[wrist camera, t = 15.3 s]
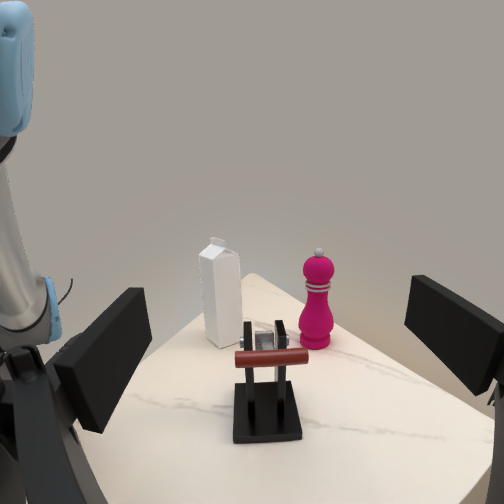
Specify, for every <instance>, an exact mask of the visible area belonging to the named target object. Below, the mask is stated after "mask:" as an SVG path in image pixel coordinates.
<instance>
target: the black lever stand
mask: <svg viewBox="0 0 504 504" xmlns="http://www.w3.org/2000/svg"><path fill="white" fill-rule="evenodd" d="M287 345H289V336H288V334H286V332H285V328H284V324H283V321H282V320H275V349H287ZM240 348H244V351H253V347H252V325H251V321H250V322H244V325H243V337H240ZM245 375H246V383H235V397H234V423H233V441H234V443H264V442H279V441H291V440H300V439H302V428H301V424H300V419H299V415H298V411H297V406H296V402H295V397H294V393H293V388H292V384H291V381H286V366H275V382H260V383H254V372H253V368H245Z"/></svg>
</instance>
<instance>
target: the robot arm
mask: <svg viewBox="0 0 504 504" xmlns="http://www.w3.org/2000/svg"><path fill="white" fill-rule="evenodd" d="M33 77H34V23H33V17H32V13H31V11H30V9H29V7H28V6H27V5H26V4H25V3H23V2H20V1H7V2H0V504H26V498H27V502H28V504H108V502H107V501H106V499H105V497H104V495H103V493H102V491H101V489H100V487H99V485H98V483H97V481H96V479H95V477H94V474H93V472H92V470H91V468H90V465H89V463H88V461H87V458H86V456H85V453H84V451H83V448H82V446H81V443H80V441H79V438H78V435H77V432H76V430H75V428H74V427H73V425H72V424H73V423H74V421H75V420H76V418H78V420H79V422H80V424H81V426H82V428H83V429H84V430H88V431H92V432H96V433H100V434H102V433H103V431H104V429H105V427H106V425H107V423H108V421H109V419H110V417H111V415H112V413H113V411H114V409H115V407H116V405H117V404H118V402H119V400H120V398H121V396H122V394H123V392H124V390H125V388H126V386H127V385H128V383H129V381H130V379H131V377H132V375H133V373H134V371H135V370H136V368H137V366H138V364H139V362H140V360H141V359H142V357H143V355H144V353H145V351H146V350H147V348H148V346H149V344H150V342H151V341H152V335H151V329H150V324H149V319H148V313H147V308H146V301H145V295H144V288H128V289H127V290H126V291H125V292H124V293H123V294H121V295H120V296H119V298H117V299H116V300H115V301H114V302H113V303H112V304H111V305H110V306H109V307H108V308H107V309H106V310H105V311H104V312H103V313H102V314H101V315H100V316H99V317H98V318H97V319H96V320H95V321H94V322H93V323H92V324H91V325H90V326H89V327H88V328H87V329H86V330H85V331H84V332H83V333H79V334H78V335H76V336H74V337H72V338H71V339H70V340H69V341H68V342H67V343H66V344H65V345H64V346H63V347H62V348H61V349H60V350H59V352H57V353H56V354H55V355H54V356H53V357H52V358H51V359H50V360H49V361H48V362H47V363H46V364H45V365H44V364H43V361H42V358H41V356H40V353H39V350H38V348H37V347H36V345H40V344H49V343H50V342H52V341H56V340H58V339H59V338H60V337H61V335H62V328H61V322H60V317H59V310H58V305H59V304H60V303H61V302H62V301H63V300H64V299H65V297H66V296H67V295H68V293H69V292H70V290H71V288H72V283H73V282H72V281H73V279H71V285H70V288H69V290H68V292H67V293H66V295H65V296H64V297H63V298H62V299H61V300H60V301H59V302H58V303H57V299H56V293H55V288H54V283H53V281H52V279H51V278H50V277H44V276H43V277H41V275H40V274H39V273H38V272H37V271H36V270H35V269H33V268H32V267H30V266H29V263H28V260H27V256H26V253H25V250H24V246H23V243H22V239H21V236H20V232H19V228H18V225H17V221H16V216H15V212H14V208H13V202H12V197H11V193H10V187H9V181H8V175H7V168H6V160H7V159H8V158H9V156H10V155H11V153H12V152H13V150H14V148H15V145H16V142H17V134H18V133H19V132H22V131H23V130H24V129H25V128H26V127H27V125H28V123H29V119H30V115H31V108H32V97H33V87H32V85H33V84H32V82H33ZM404 325H405V326H406V327H407V328H408V329H409V330H411V331H412V332H413V333H414V334H415V335H416V336H417V337H418V338H419V339H420V340H421V341H422V342H423V343H424V344H425V345H426V346H427V347H428V348H429V349H430V350H431V351H432V352H433V353H434V354H435V355H436V356H437V357H438V358H439V359H440V360H441V361H442V362H443V363H444V364H445V365H446V366H447V367H448V368H449V369H450V370H451V371H452V372H453V373H454V374H455V375H456V376H457V377H458V378H459V380H461V382H462V383H463V384H464V385H465V386H466V387H467V388H468V389H469V390H470V391H471V392H472V393H473V394H474V395H475V396H478V395H480V394H482V393H484V392H486V391H488V389H489V386H490V384H491V382H492V380H493V378H494V379H496V380H497V381H498V382H497V384H496V387H495V389H494V391H493V393H492V395H491V397H490V399H489V401H488V404H487V405H490V403H491V401H493V400H495V401H494V404H493V406H495V431H494V448H493V459H492V468H491V475H490V482H489V488H488V493H487V498H486V503H485V504H504V324H503V323H502V322H500V321H499V320H497V319H495V318H494V317H493V316H491V315H490V314H488V313H487V312H485V311H483V310H482V309H480V308H478V307H477V306H475V305H474V304H472V303H470V302H469V301H467V300H466V299H464V298H462V297H461V296H459V295H457V294H456V293H454V292H452V291H451V290H449V289H447V288H445V287H444V286H442V285H440V284H439V283H437V282H435V281H433V280H432V279H430V278H428V277H426V276H425V275H415V276H412V280H411V287H410V294H409V300H408V307H407V312H406V319H405V323H404ZM4 352H6V353H4Z"/></svg>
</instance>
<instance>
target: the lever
mask: <svg viewBox="0 0 504 504" xmlns="http://www.w3.org/2000/svg"><path fill="white" fill-rule="evenodd" d="M255 347H256V351H235V367H236V368H253V367H273V366H287V365H300V364H308V360H309V355H308V349H307V347H303V348H291V349H275V347H274V332H273V331H255Z"/></svg>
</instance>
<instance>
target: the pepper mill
mask: <svg viewBox="0 0 504 504" xmlns="http://www.w3.org/2000/svg"><path fill="white" fill-rule="evenodd" d="M314 254H315V256H313V257H311V258H309V259H308V260H307V261H306V262H305V263H304V267H303V273H304V276H305V277H306V279H307V281H306V282H305V283H306V286H305V288H306V289H307V291H308V298H307V303H306V306H305V308H304V309H303V311H302V313H301V316H300V318H299V324H298V325H299V329H300V330H301V332H302V333H301V334H300V343H301V344H302V345H303V346H304V347H307V348H309V349H322V348H325V347H326V346H328V345H329V342H330V334H329V333H330V332H331V330H332V329H333V326H334V322H333V316H332V313H331V311H330V308H329V306H328V301H327V296H328V290H330V289H331V286H330V285H331V282H330V279H331V278H332V276H333V274H334V266H333V263H332V262H331V260H330V259H328V258H327V257H324V256H323V254H324V252H323V250H322V249H320V248H318V249H316V250H315V252H314Z"/></svg>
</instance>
